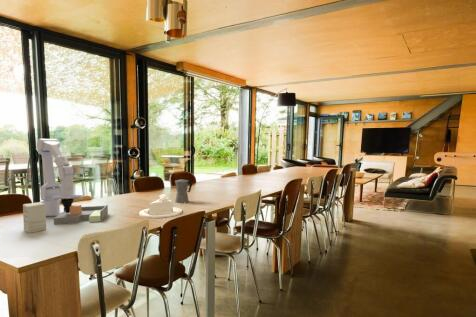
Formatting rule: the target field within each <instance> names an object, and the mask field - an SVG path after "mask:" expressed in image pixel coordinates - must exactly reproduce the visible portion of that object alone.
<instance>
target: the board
mask: <svg viewBox="0 0 476 317" xmlns="http://www.w3.org/2000/svg"><path fill="white" fill-rule="evenodd" d="M108 206H109V204H105V205H94V206H93V205H92V206H81V212H82V213H80V214H79V215H70V212H69V213H66V211H65V208H64V207H63V211H61V212H62V213H61V214H59V215H58V216H54V217H53V225H62V224H77V223H80V222H81V221H88V222H89V223H93V222H95V223H96V222H103V221H104V219H105V218H106V217H107V216H108V214H109V211H108V210H109V207H108Z"/></svg>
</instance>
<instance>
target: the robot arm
mask: <svg viewBox="0 0 476 317" xmlns="http://www.w3.org/2000/svg"><path fill="white" fill-rule="evenodd" d="M60 147H61V142H60V140H59V139H58V138H38V140H37V143H36V148H37V153H38V154H39V155H41V160H42V168H43V175H44V180H45V183H44V184H43V185H41V186H40V193H39V194H40V198H41V200H40V201H39V202H41V203H44V204H45V209H46V217H53V216H54V217H56V216H58V215H59V214H61V213H62V212H63V211H61V210H60V203H61V204H62V206H63V209H64V208H65V211H66V213H69V212H70V206H71V205H73V202H74V200H83V198H84V197H83V194H74V176H75V173H76V168H75V166H74V165H73V164H70V163H69V161H68V159H67V158H66V156H65V155H63V154H62V152H61V150H60ZM53 158H54V162H53ZM54 164H55V165H56V167H57V172H58V177H59V181H60V182H57V180H56V174H55V169H54Z"/></svg>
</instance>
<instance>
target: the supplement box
mask: <svg viewBox="0 0 476 317" xmlns="http://www.w3.org/2000/svg"><path fill="white" fill-rule="evenodd" d="M22 212H23V214H22V216H23V230H24V231H25V232H26V233H28V234H30V233H35V232H40V231H45V230H47V216H46V209H45V204H44V203H41V202H40V201H39V202H38V201H37V202H31V203H24V204H22Z"/></svg>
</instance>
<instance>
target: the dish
mask: <svg viewBox="0 0 476 317" xmlns="http://www.w3.org/2000/svg"><path fill="white" fill-rule="evenodd" d="M158 197H159V198H158V199H157V200H155V201H152V202H150V203H148V208H145V209H141V210H140V211H138V213H139V214H138V215H139V217H142V218H146V219H164V218H165V217H166V218H172V216H173V217H176V215H177V216H179V215H181V214H183V209H182V208H179V207H175V206H174V200H170V199H169V198H170V194H165V193H162V194H159V195H158ZM166 218H165V219H166Z"/></svg>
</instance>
